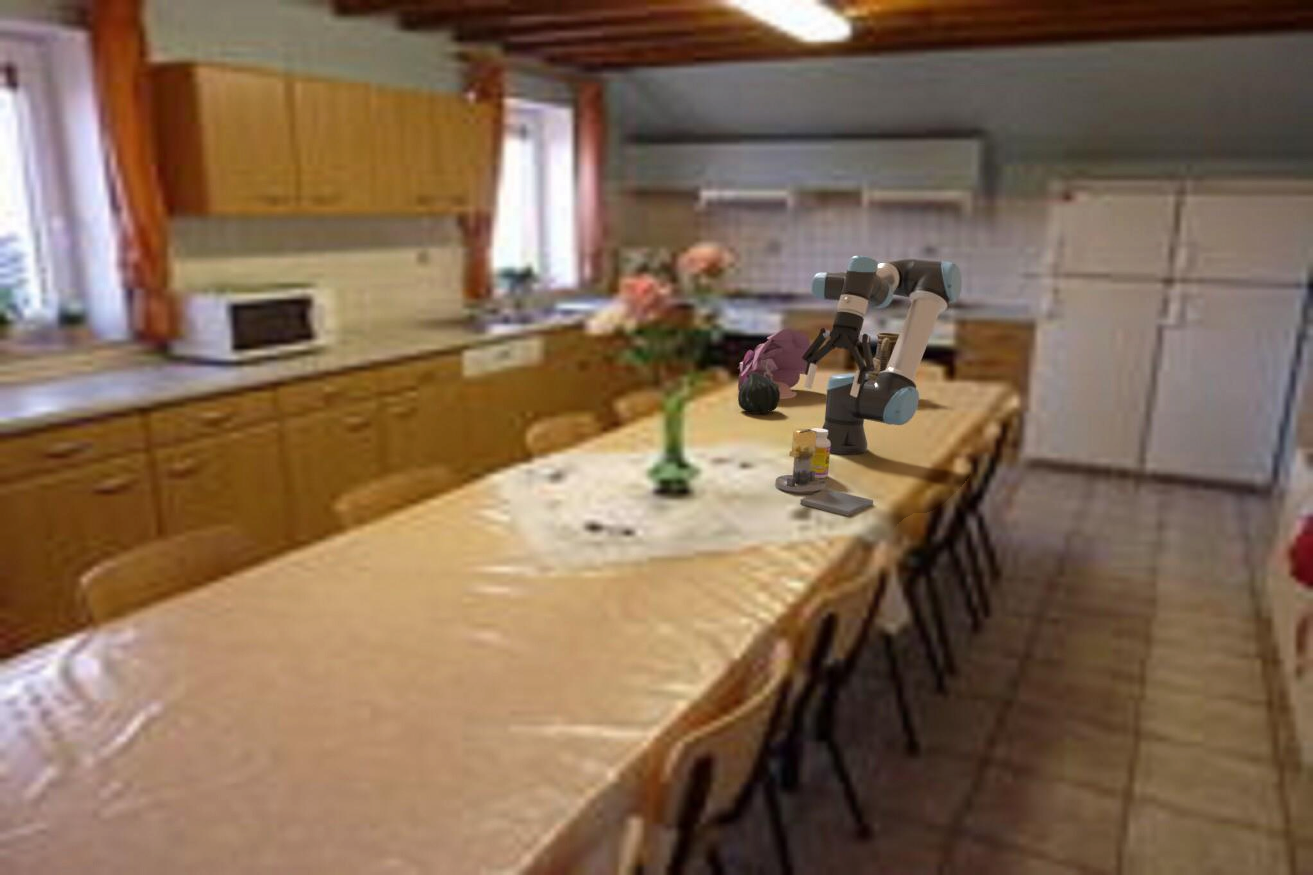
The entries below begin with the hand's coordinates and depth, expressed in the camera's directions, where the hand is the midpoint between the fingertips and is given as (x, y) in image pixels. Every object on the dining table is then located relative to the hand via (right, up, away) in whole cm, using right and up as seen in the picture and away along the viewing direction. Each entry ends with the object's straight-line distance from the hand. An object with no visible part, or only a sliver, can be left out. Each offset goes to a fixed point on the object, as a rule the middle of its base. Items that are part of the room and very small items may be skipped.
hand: (830, 392), depth 248 cm
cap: (-8, -16, -5) cm, 19 cm away
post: (-8, -25, -3) cm, 26 cm away
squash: (-10, -3, +88) cm, 88 cm away
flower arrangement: (0, +5, +123) cm, 123 cm away
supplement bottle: (-2, -23, +9) cm, 24 cm away
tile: (-1, -28, -16) cm, 32 cm away
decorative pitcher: (+45, +4, +127) cm, 134 cm away
